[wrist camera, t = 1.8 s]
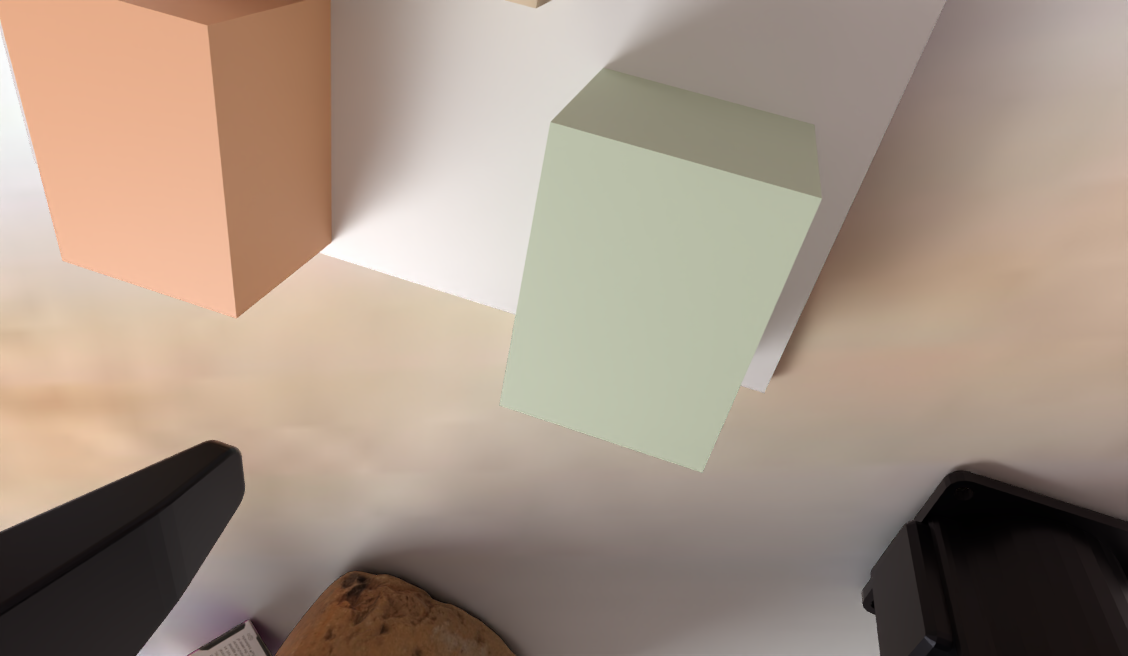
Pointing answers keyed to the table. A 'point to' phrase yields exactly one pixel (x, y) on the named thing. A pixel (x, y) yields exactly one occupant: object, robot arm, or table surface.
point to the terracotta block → (181, 138)
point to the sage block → (656, 262)
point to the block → (387, 623)
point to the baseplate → (548, 83)
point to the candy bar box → (235, 643)
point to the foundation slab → (530, 2)
